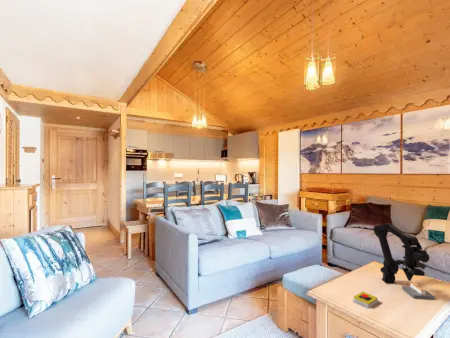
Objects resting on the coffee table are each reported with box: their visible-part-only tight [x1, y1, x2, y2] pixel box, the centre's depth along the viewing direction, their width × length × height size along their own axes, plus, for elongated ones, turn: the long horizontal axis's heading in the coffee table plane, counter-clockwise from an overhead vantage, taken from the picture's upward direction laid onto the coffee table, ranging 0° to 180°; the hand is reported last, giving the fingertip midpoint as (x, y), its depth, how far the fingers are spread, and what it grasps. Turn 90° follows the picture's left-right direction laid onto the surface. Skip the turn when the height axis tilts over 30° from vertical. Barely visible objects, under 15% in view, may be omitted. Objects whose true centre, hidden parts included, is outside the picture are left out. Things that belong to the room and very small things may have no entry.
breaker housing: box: [401, 285, 436, 301], centre depth 158 cm, size 12×12×2 cm
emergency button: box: [352, 291, 380, 310], centre depth 148 cm, size 9×4×15 cm
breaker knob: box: [409, 281, 426, 295], centre depth 158 cm, size 2×10×3 cm, turn 175°
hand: (409, 280), depth 159 cm, fingers closed
